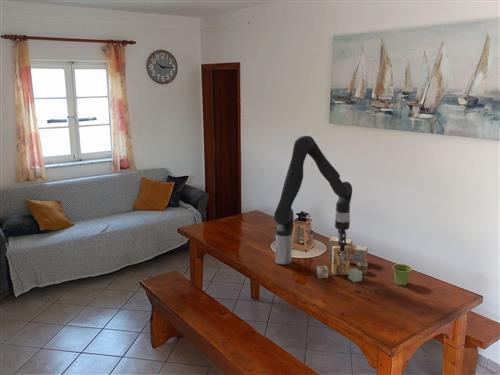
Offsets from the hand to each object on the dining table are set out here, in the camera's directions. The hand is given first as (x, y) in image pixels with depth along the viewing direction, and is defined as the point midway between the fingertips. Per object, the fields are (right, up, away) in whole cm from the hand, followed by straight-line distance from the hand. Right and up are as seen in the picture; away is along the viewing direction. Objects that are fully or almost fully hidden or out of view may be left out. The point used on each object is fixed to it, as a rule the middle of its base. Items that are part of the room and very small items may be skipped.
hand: (341, 248), depth 239 cm
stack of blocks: (+8, -10, +20) cm, 24 cm away
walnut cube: (+12, -14, +5) cm, 19 cm away
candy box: (0, -14, +4) cm, 15 cm away
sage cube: (+6, -16, -4) cm, 18 cm away
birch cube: (-10, -15, 0) cm, 18 cm away
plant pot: (+29, -17, -8) cm, 35 cm away
